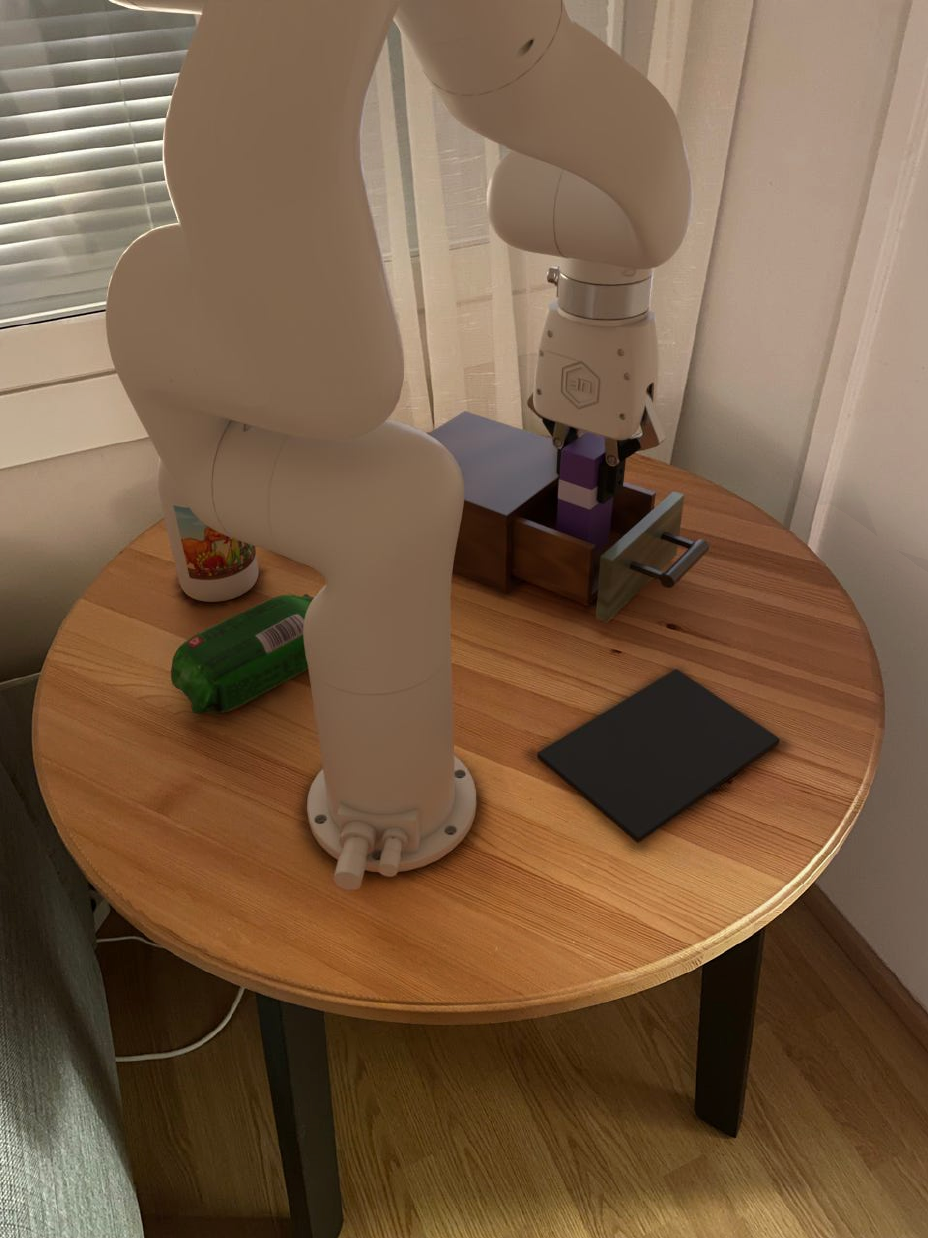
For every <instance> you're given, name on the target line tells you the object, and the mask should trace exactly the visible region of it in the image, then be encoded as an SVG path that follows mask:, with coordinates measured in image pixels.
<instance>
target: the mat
mask: <svg viewBox="0 0 928 1238" xmlns="http://www.w3.org/2000/svg"><path fill="white" fill-rule="evenodd" d="M779 744H780V737H778V736H776V735H775V734H774V733H772V732H771V731H769V730H768V729H766V728H765V727H764V726H762V725H760V724H758V722H756V721H754V720H753V719H751V718H750V717H749V716H747V715H746V714H744V713H743V712H742V711H740V710H738V709H737V708H735V707H734V706H732V704H730V703H727V702H726V701H725V700H724V699H722V698H720V697H719V696H717V695H716V694H715V693H713V692H712V691H710V690H708V689H707V688H706V687H704V686H703V685H701V684H700V683H698V682H697V681H695V680H694V679H692V678H691V677H690V676H688V675H687V674H685V673H683V672H682V671H681V670H679V669H677V668H675V669H674V670H672V671H670V672H669V673H667V674H665V675H663V676H661V677H660V678H658V679H656V680H655V681H654V682H652V683H650V684H649V685H647V686H645V687H644V688H642V689H640V690H639V691H637V692H635V693H634V694H632V695H631V696H629V697H627V698H626V699H624V700H622V701H620V702H619V703H617V704H616V705H614V706H613V707H611V708H609V709H607V710H606V711H603V712H602V713H601V714H599V715H597V716H596V717H594V718H592V719H591V720H589V721H588V722H585V723H584V724H582V725H581V726H579V727H578V728H576V729H574V730H572V731H571V732H569V733H568V734H566V735H564V736H563V737H561V738H559V739H557V740H556V741H555V742H552V743H551V744H550V745H547V746H546V747H545V748H543V749H541V750H540V751H538V752H537V753H536V754H537V759H538V760H539V761H540V762H542V763H543V764H544V765H545V766H547V767H548V768H549V769H550V770H551V771H552V772H554V773H555V774H556V775H557V776H558V777H559V778H561V779H562V780H563V781H564V782H565V783H566V784H568V785H569V786H570V787H571V788H572V789H574V790H575V791H576V792H577V793H578V794H580V795H581V796H582V797H583V798H584V799H585V800H587V801H588V802H589V803H590V804H592V806H593V807H595V808H596V809H597V810H598V811H600V812H601V813H602V814H603V815H605V817H607V818H608V819H609V820H610V821H612V823H614V824H615V825H616V826H617V827H618V828H620V829H621V830H622V831H623V832H625V834H627V835H628V836H629V837H631V838H632V840H634V841H635V842H636V843H638V844H639V843H641V842H642V841H644V840H645V839H647V838H648V837H649V836H650V835H652V834H654V832H657V831H658V830H659V829H660V828H662V827H664V826H665V825H666V824H668V823H669V822H671V821H672V820H673V819H674V818H676V817H677V816H679V815H680V814H682V813H683V812H685V811H686V810H687V809H688V808H690V807H691V806H693V805H694V804H696V803H697V802H699V801H700V800H701V799H703V798H704V797H706V796H707V795H708V794H710V793H711V792H713V791H714V790H715V789H717V788H718V787H720V786H721V785H722V784H724V783H725V782H727V781H728V780H729V779H731V778H732V777H734V776H735V775H737V774H738V773H739V772H741V771H742V770H744V769H745V768H747V767H748V766H749V765H751V764H752V763H753V762H755V761H756V760H758V759H760V758H761V757H762V756H764V755H765V754H766V753H768V752H769V751H771V750H772V749H773V748H775V747H776V746H777V745H779Z"/></svg>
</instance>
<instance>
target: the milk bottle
mask: <svg viewBox="0 0 928 1238" xmlns="http://www.w3.org/2000/svg"><path fill="white" fill-rule="evenodd" d="M156 474H157V475H156V479H157V480H156V481H157V488H158V489H157V490H158V494H159V500H160V506H161V510H162V515H163V518H164V524H165V528H166V532H167V537H168V542H169V545H170V546H169V547H170V550H171V554H172V559H173V563H174V567H175V571H176V575H177V579H178V583H179V586H180V588H181V590H182V591H183V592H184V593H185V595H187V596H188V597H189V598H191V599H194V600H197V601H200V602H206V603H208V602H209V603H219V602H225V601H229V600H232V599H236V598H237V597H241V596H242V595H244V594H246V593H248V592H249V591H250V590H251V589H252V588H253V587H254V586H255V584H256V583H257V580H258V578H259V574H260V573H259V572H260V571H259V562H258V556H257V551H256V546H253V545H250V544H247V543H245V542H242V541H239V540H236V539H234V538H231V537H229V536H226V535H224V534H221V533H219V532H217V531H215V530H213V529H212V528H210V527H209V526H207V525H206V524H204V523H203V522H202V521H201V520H200V519H199V518H198V517H197V516H196V515H195V514H194V513H193V512H192V511H191V509H190V508H189V507H188V506H187V504H186V503H185V501H184V500H183V498H182V497H181V495H180V493H179V492H178V490H177V488H176V486H175V485H174V483H173V481H172V479H171V477H170V475H169V473H168V472H167V470H166V468H165V466H164V464H163V462H162V460H161V458H160V457H159V460H158V464H157V473H156Z"/></svg>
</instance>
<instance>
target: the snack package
mask: <svg viewBox="0 0 928 1238" xmlns="http://www.w3.org/2000/svg"><path fill="white" fill-rule="evenodd" d="M313 599H314V597H313V596H311V595H309V594H308V593H305V594H304V595H302V596H300V595H296V594H283V595H278V596H274V597H272V598H269V599H266V600H264V601H263V602H259V603H258V604H256V605H254V606H252V607H250V608H248V609H246V610H244V611H242V612H239V613H237V614H235V615H233V616H231V617H229V618H227V619H224V620H223V621H221V622H219V623H216V624H215V625H213V626H210V627H208V628H206V629H204V630H202V631H201V632H198V633H197V634H195V635H193V636H191V637H189V638H188V639H186V640H185V641H184V642H183V643H182V644H180V645H179V647H177V649H176V651H175V653H174V655H173V657H172V662H171V667H170V680H171V684H172V686H174V687H175V689H177V690H179V691H180V692H182V694H184V695H185V696H186V698H188V700H189V702H190V704H191V710H192V712H193V713H194V715H196V716H197V715H201V714H204V713H215V714H216V713H217V714H223V713H229V712H232V711H235V710H237V709H239V708H241V707H243V706H245V705H246V704H248V703H249V702H251V701H253V700H255V699H256V698H258V697H259V696H261V695H263V694H264V693H265V694H266V693H267V692H268V691H271V690H272V689H275V688H276V687H278V686H280V685H282V684H284V683H286V682H288V681H289V680H291V679H293V678H296V677H297V676H299V675H300V674H302V673H303V672H305V671H307V670H309V669H308V663H307V660H306V654H305V647H304V637H303V626H304V619H305V615H306V612H307V609H308V607H309V605H310V603H311V602H312V600H313Z"/></svg>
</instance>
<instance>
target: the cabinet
mask: <svg viewBox="0 0 928 1238" xmlns="http://www.w3.org/2000/svg"><path fill="white" fill-rule="evenodd" d="M427 434H428V435H430V436H432V437H433V438H435V439H436V440H437V441H439V442H440V443H441V444H442V445H444V446H445V447H446V448H447V449H448V450H449V451H450V453H451V454H452V455H453V456H454V458H455V460H456V461H457V463H458V465H459V467H460V469H461V473H462V476H463V481H464V505H463V512H462V518H461V524H460V529H459V534H458V539H457V544H456V550H455V556H454V562H453V570H452V573H453V572H454V573H456V574H458V575H461V576H463V577H465V578H468V579H470V580H472V581H475V582H478V583H480V584H482V585H484V586H487V587H488V588H491V589H494V590H496V591H499V592H501V593H503V594H507V593H508V592H510V591H511V590H512V589H513V588H514V587H516V586H517V585H518V584H520V582H522V581H523V579H521V578H518V577H516V576H514V575H511V550H512V519H514V518H515V517H516V516H518V515H519V514H520V513H522V512H523V511H524V510H525V509H527V508H528V507H529V506H531V505H532V504H533V503H535V502H536V501H537V500H538V499H540V498H541V497H542V496H544V495H545V494H546V493H548V492H549V491H550V490H551V489H553V488H554V487H555V486H557V485H558V475H557V473H556V467H557V450H558V449H557V448H555V447H554V446H553V444H552V438H550V437H547V436H543V435H542V434H541V435H540V434H538V433H534V432H531V431H528V430H526V429H522V428H519V427H515V426H513V425H509V424H506V423H503V422H500V421H497V420H495V419H491V418H489V417H485V416H483V415H479V414H476V413H473V412H469V411H466V410H464V411H463V412H461V413H460V414H457V415H456V416H454V417H453V418H451V419H450V420H448V421H447V422H445V423H443V424H442V425H440V426H438V427H436V428H435V429H433V430H432V431H430V432H428V433H427Z"/></svg>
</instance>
